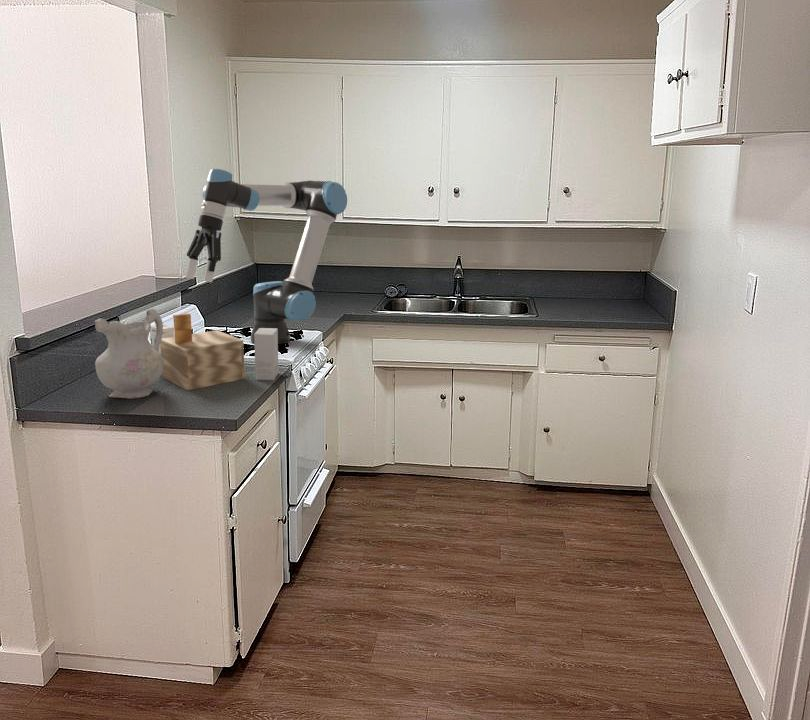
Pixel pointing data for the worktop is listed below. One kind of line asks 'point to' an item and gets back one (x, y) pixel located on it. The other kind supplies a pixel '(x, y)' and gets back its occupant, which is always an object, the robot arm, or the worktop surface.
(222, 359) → the carton
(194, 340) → the lid
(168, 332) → the syrup box
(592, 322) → the worktop surface
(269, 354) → the skincare box
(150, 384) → the ceramic pitcher
